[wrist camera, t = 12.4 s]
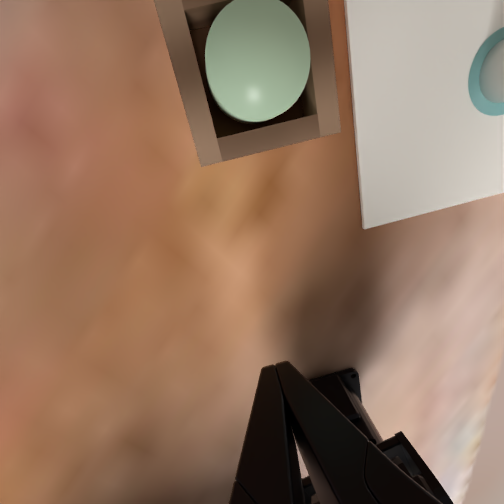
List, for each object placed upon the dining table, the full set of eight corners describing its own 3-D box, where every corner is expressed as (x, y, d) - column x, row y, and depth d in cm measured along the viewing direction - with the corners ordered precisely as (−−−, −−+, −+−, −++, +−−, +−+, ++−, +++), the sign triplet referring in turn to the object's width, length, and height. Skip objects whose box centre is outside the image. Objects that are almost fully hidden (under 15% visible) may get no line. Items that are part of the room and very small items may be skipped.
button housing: (324, 134, 18) (340, 132, 16) (202, 164, 18) (201, 166, 15) (305, -25, 15) (322, -56, 13) (158, 8, 15) (148, -18, 12)
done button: (299, 113, 17) (317, 107, 14) (219, 133, 17) (221, 130, 14) (285, 12, 15) (301, -18, 12) (194, 33, 15) (191, 7, 12)
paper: (563, 175, 21) (569, 175, 21) (362, 228, 21) (365, 229, 20) (608, -70, 16) (618, -75, 16) (343, -10, 15) (346, -13, 15)
